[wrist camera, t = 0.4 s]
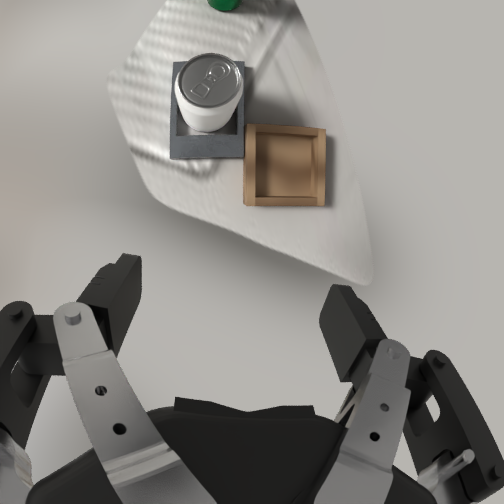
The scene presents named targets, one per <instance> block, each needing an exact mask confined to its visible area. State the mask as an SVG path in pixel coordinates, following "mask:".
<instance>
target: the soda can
mask: <svg viewBox="0 0 504 504" xmlns="http://www.w3.org/2000/svg"><path fill="white" fill-rule="evenodd" d="M207 1H208V3H209V5H210V6H211V7H213V8H215V9H218V10H224V11H227V10H233V9H235V8H237V7H239V6H240V5H241V3H242V1H243V0H207Z"/></svg>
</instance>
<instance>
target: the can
mask: <svg viewBox="0 0 504 504" xmlns="http://www.w3.org/2000/svg"><path fill="white" fill-rule="evenodd" d="M242 92H243V78H242V75H241V73H240V70H239V68H238V67H237V65H236V64H235V63H234V62H233V61H232V60H231V59H229V58H228V57H226V56H223V55H220V54H215V53H206V54H201V55H198V56H195V57H193V58H192V59H190V60H189V61H188V62H186V63H185V64H184V66H183V67H182V68H181V70H180V72H179V73H178V75H177V78H176V81H175V95H176V98H177V102H178V105H179V107H180V110H181V113H182V116H183V118H184V120H185V122H186V123H187V124H188V125H189V126H190V127H191V128H193V129H195V130H197V131H200V132H212V131H216V130H218V129H220V128H222V127H223V126H224V125H225V124H226V123H227V122H228V121H229V119H230V118H231V116H232V114H233V112H234V110H235V108H236V106H237V104H238V102H239V100H240V98H241V95H242Z"/></svg>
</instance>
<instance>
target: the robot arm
mask: <svg viewBox="0 0 504 504" xmlns="http://www.w3.org/2000/svg"><path fill="white" fill-rule="evenodd" d="M141 292H142V260H141V257H140V256H137V255H131V254H125V253H123V254H122V255H121V257H120V258H119V259H118V260H117V262H116V263H115V264H112V263H109V264H108V265H105V266H104V267H102V268H100V270H99V271H98V272H97V274H96V275H95V277H94V278H93V279H92V280H91V282H90V283H89V284H88V286H87V287H86V288H85V290H84V291H83V292H82V294H81V296H80V297H79V298H78V299H77V301H76V302H70V303H66V304H64V305H62V306H60V307H59V308H58V309H57V310H56V311H55V312H54V315H34V312H33V309H32V306H31V305H30V304H29V303H27V302H24V301H15V302H12V303H10V304H8V305H6V306H5V307H4V308H3V309H2V310H1V311H0V504H477V503H479V502H481V501H482V500H484V499H486V498H487V497H489V496H490V495H492V494H493V493H495V492H497V491H498V490H500V489H501V488H503V486H504V460H503V458H502V455H501V453H500V451H499V449H498V446H497V444H496V442H495V440H494V438H493V436H492V434H491V432H490V430H489V428H488V426H487V424H486V422H485V420H484V418H483V416H482V414H481V412H480V410H479V408H478V406H477V405H476V403H475V401H474V399H473V398H472V396H471V394H470V392H469V391H468V389H467V387H466V385H465V384H464V382H463V380H462V379H461V377H460V375H459V374H458V372H457V370H456V369H455V367H454V365H453V364H452V363H451V361H450V359H449V358H448V357H447V356H446V355H445V354H443V353H442V352H440V351H437V350H430V351H428V352H427V353H426V355H425V356H424V358H423V359H420V358H416V357H412V356H410V353H409V351H408V350H407V348H406V347H405V346H404V345H402V344H401V343H399V342H398V341H395V340H392V339H388V338H387V337H386V335H385V333H384V332H383V330H382V328H381V327H380V325H379V323H378V322H377V321H376V319H375V317H374V315H373V314H372V312H371V311H370V309H369V308H368V306H367V305H366V304H365V303H364V302H363V301H362V300H361V299H359V298H357V296H356V294H355V293H354V291H353V290H352V288H351V287H350V286H346V285H338V284H333V285H332V286H331V288H330V291H329V293H328V296H327V298H326V301H325V303H324V306H323V308H322V311H321V313H320V318H319V324H320V328H321V331H322V333H323V336H324V338H325V341H326V344H327V347H328V349H329V352H330V355H331V357H332V360H333V362H334V365H335V368H336V371H337V374H338V376H339V379H340V382H352V384H353V385H352V387H351V388H350V390H349V392H348V394H347V396H346V398H345V400H344V402H343V404H342V406H341V408H340V411H339V412H338V414H337V416H336V418H335V420H334V421H333V420H330V419H328V418H325V417H322V416H318V415H315V411H314V407H313V405H310V406H278V407H273V408H268V409H263V410H257V411H252V412H245V411H241V410H237V409H234V408H230V407H226V406H224V405H220V404H217V403H214V402H210V401H202V400H194V399H187V398H180V397H175V403H174V406H171V407H163V408H158V409H154V410H151V411H148V412H145V410H144V409H143V407H142V405H141V403H140V402H139V400H138V398H137V396H136V395H135V393H134V391H133V389H132V388H131V386H130V384H129V382H128V380H127V378H126V377H125V375H124V373H123V371H122V369H121V367H120V365H119V363H118V361H117V359H116V358H117V356H118V353H119V351H120V348H121V345H122V343H123V340H124V338H125V336H126V333H127V330H128V328H129V326H130V323H131V321H132V319H133V316H134V314H135V312H136V310H137V307H138V305H139V302H140V299H141ZM17 361H18V362H17ZM16 362H17V364H16ZM15 364H16V365H15ZM14 366H15V367H14ZM13 368H14V370H13V371H12V369H13ZM11 372H12V373H11ZM51 375H62V376H66V378H67V381H68V384H69V387H70V390H71V393H72V396H73V399H74V402H75V404H76V407H77V410H78V412H79V415H80V418H81V420H82V422H83V425H84V427H85V429H86V432H87V434H88V437H89V439H90V441H91V443H92V445H93V448H91V449H90V450H88V451H87V452H85V453H84V454H82V455H81V456H79V457H78V458H76V459H74V460H73V461H71V462H70V463H68V464H67V465H65V466H63V467H62V468H60V469H58V470H57V471H55V472H53V473H52V474H50V475H49V476H47V477H45V478H43V479H42V480H40V481H39V482H37V483H36V484H35V485H33V482H32V479H31V476H32V474H31V469H32V468H31V461H30V458H29V456H28V455H27V453H26V452H25V451H24V450H25V447H26V444H27V440H28V437H29V434H30V431H31V428H32V424H33V422H34V419H35V416H36V413H37V410H38V408H39V405H40V402H41V400H42V397H43V395H44V392H45V390H46V387H47V385H48V382H49V380H50V378H51ZM432 395H434V397H435V399H436V401H437V403H438V405H439V408H440V416H439V418H438V420H437V421H436V422H435V423H434V421H433V418H432V416H431V414H430V412H429V410H428V407H427V405H426V401H427V400H428V399H429V398H430V397H431V396H432ZM402 430H403V433H404V436H405V439H406V441H407V444H408V447H409V450H410V453H411V456H412V459H413V462H414V465H415V468H416V471H417V475H418V480H417V481H415V480H414V479H412V478H411V477H409V476H408V475H406V474H405V473H404V472H402V471H401V470H399V469H398V468H397V467H395V466H394V465H393V461H394V458H395V455H396V451H397V448H398V444H399V441H400V437H401V434H402Z"/></svg>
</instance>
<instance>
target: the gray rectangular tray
mask: <svg viewBox="0 0 504 504" xmlns="http://www.w3.org/2000/svg"><path fill="white" fill-rule="evenodd" d="M186 62H188V61H184V62H173V75H172V92H171V115H170V159H186V158H224V157H244V63H245V62H243V61H233V62H234V63H235V64H236V65H237V67H238V68H239V70H240V73H241V75H242V78H243V92H242V95H241V98H240V100H239V102H238V104H237V106H236V135H192V136H177V124H178V102H177V98H176V95H175V81H176V78H177V75H178V73H179V72H180V70H181V68H182V67H183V66H184V64H185V63H186Z"/></svg>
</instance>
